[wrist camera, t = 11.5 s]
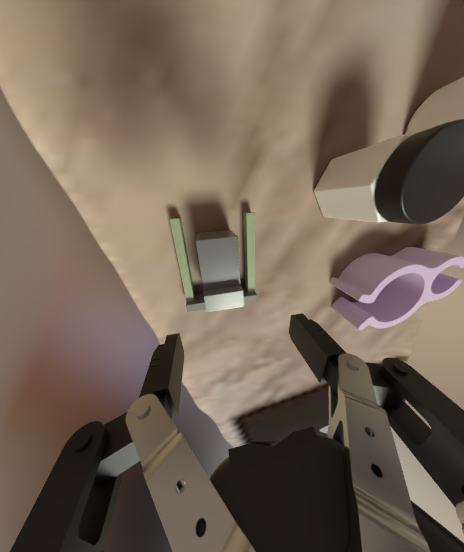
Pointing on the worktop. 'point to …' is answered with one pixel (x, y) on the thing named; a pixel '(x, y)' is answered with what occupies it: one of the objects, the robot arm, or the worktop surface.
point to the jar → (397, 178)
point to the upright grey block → (220, 269)
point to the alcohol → (439, 108)
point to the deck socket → (192, 300)
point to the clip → (393, 285)
